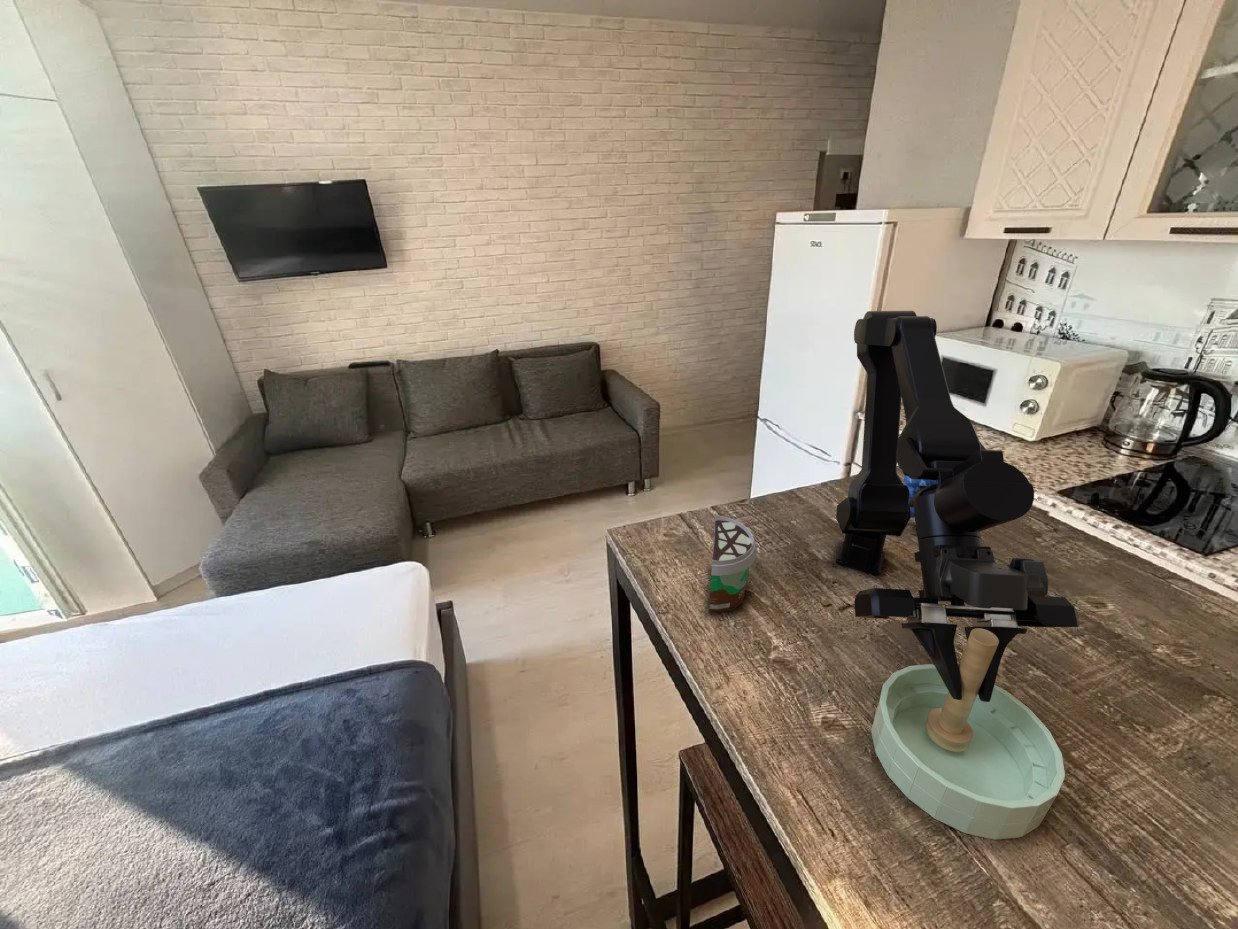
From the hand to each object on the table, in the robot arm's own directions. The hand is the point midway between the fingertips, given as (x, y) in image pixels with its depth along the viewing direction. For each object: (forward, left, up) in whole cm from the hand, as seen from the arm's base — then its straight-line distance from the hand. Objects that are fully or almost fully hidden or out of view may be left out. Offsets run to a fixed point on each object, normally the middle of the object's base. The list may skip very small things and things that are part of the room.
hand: (971, 700), depth 49 cm
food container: (-12, -29, -9) cm, 33 cm away
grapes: (-43, -6, -9) cm, 45 cm away
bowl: (+1, 0, -8) cm, 9 cm away
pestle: (-1, -1, -7) cm, 7 cm away
